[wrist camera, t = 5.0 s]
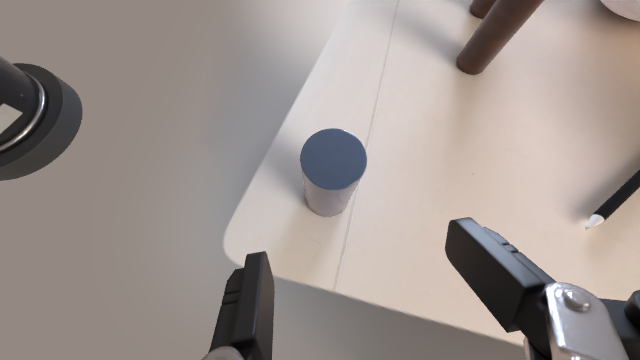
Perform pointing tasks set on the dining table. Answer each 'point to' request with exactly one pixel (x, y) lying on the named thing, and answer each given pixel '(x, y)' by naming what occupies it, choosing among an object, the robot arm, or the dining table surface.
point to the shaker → (331, 170)
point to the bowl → (624, 8)
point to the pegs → (493, 30)
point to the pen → (614, 201)
